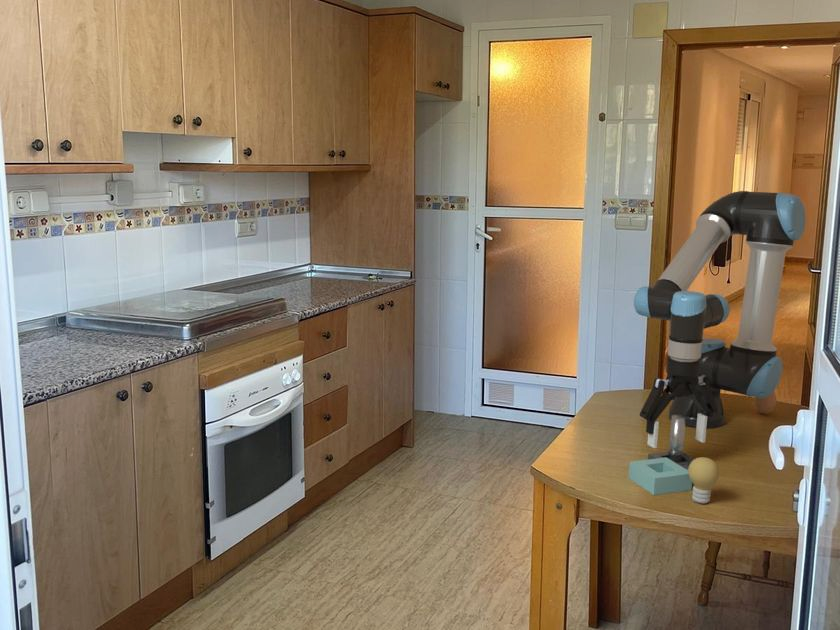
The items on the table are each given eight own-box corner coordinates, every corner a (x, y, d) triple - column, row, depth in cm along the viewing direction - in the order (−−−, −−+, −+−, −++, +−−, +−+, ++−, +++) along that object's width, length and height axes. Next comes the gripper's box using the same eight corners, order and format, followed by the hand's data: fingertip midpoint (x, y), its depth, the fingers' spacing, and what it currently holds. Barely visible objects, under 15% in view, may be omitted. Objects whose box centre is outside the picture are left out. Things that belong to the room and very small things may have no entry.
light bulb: (684, 504, 182) (688, 461, 180) (686, 493, 187) (690, 451, 185) (715, 509, 179) (719, 465, 177) (716, 498, 185) (720, 455, 183)
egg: (768, 410, 247) (771, 383, 245) (778, 416, 242) (782, 388, 240) (749, 410, 246) (752, 383, 245) (760, 417, 241) (763, 389, 239)
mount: (678, 459, 207) (679, 450, 207) (701, 473, 199) (702, 463, 199) (647, 463, 204) (648, 453, 204) (669, 477, 196) (670, 467, 196)
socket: (665, 473, 199) (666, 457, 198) (691, 489, 189) (692, 473, 189) (628, 478, 195) (629, 461, 195) (653, 495, 186) (654, 478, 185)
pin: (675, 465, 204) (680, 414, 201) (683, 470, 201) (688, 418, 198) (664, 466, 203) (668, 415, 200) (672, 471, 200) (677, 419, 197)
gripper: (717, 350, 204) (709, 433, 208) (628, 357, 195) (622, 443, 200) (738, 358, 197) (729, 443, 201) (647, 365, 189) (640, 454, 193)
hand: (676, 443), depth 200 cm, fingers open, 13 cm apart
